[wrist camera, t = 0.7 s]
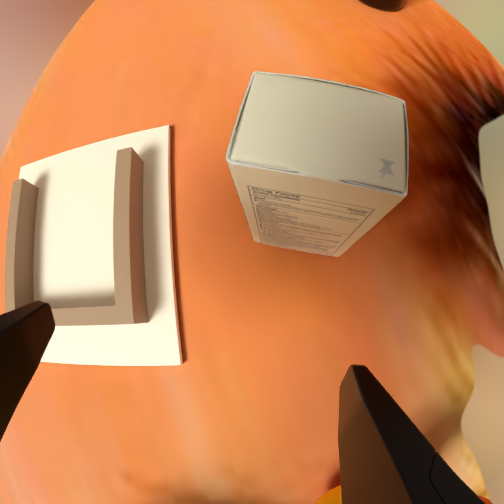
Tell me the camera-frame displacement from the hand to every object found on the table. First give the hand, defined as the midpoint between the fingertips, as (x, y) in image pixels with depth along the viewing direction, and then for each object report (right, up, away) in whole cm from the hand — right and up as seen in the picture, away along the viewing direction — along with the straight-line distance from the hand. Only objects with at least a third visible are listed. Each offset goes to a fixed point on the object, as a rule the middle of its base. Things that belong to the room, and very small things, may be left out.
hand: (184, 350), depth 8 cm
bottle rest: (-12, +3, +14) cm, 19 cm away
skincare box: (+5, +5, +14) cm, 16 cm away
